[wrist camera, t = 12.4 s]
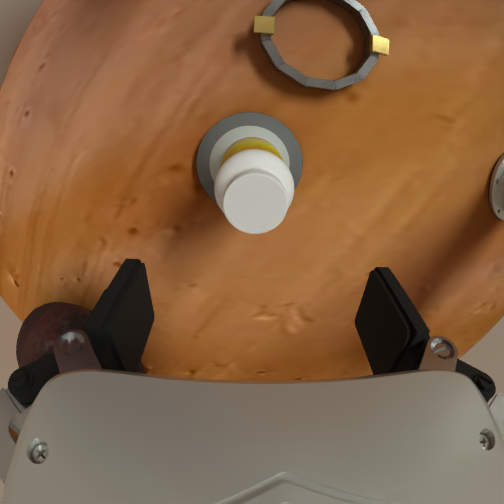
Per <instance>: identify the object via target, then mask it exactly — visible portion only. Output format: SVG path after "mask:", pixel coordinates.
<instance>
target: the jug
mask: <svg viewBox="0 0 504 504" xmlns="http://www.w3.org/2000/svg"><path fill="white" fill-rule="evenodd" d="M91 313H92V311H91V310H89V309H86V308H83V307H80V306H77V305H74V304H68V303H61V302H55V303H48V304H45V305H43V306H40V307H38V308H36V309H35V310H33V311H32V312H31V313H30V314H29V315H28V316H27V318H26V319H25V321H24V322H23V324H22V326H21V329H20V332H19V335H18V339H17V346H16V355H17V361H18V365H19V368H21V367H23V366H25V365H27V364H29V363H31V362H33V361H35V360H38V359H40V358H42V357H44V356H46V355H48V354H50V353H52V352H54V350H53V345H54V341H55V340H56V338H57V337H58V336H59V335H60V334H61V333H63V332H65V331H67V330H71V329H78V330H82V329H83V327H84V325H85V323H86V322H87V320H88V318H89V316H90V314H91ZM137 373H144V374H145V370H144V367H143V364H142V362H141V360H140V364H139V367H138V370H137Z"/></svg>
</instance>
